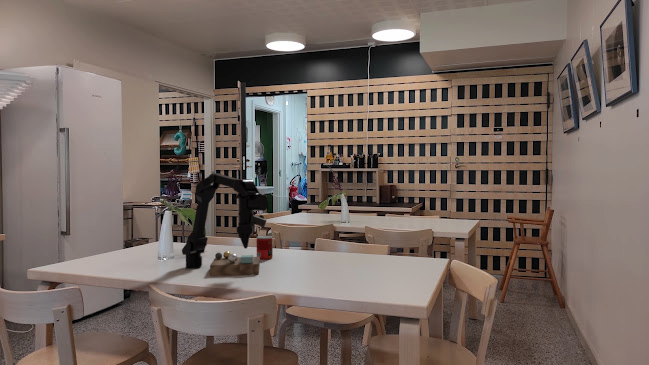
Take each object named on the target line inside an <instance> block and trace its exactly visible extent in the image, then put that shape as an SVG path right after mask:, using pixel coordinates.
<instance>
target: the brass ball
mask: <svg viewBox="0 0 649 365" xmlns="http://www.w3.org/2000/svg"><path fill="white" fill-rule="evenodd" d="M230 254H231V252H230V251H228V250H227V251H224V253H223V254H222V257H223V258H226V259H228V256H229V255H230Z"/></svg>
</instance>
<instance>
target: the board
mask: <svg viewBox="0 0 649 365" xmlns="http://www.w3.org/2000/svg"><path fill="white" fill-rule="evenodd" d="M237 258H238V259H237V261H236V262H235V263H230V262H229V261H228V259H226V258H224V257H222V258H221V259H216V257H215V258H213V260H212V262H211V263H210V266H209V276H210V277H215V276H216V277H220V276H221V277H222V276H250V275H249V274H260V267H261V266H260V265H261V263H260V262H261V260H260V257H257V256H253V263H241V256H239V257H238V256H237Z"/></svg>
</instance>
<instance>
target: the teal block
mask: <svg viewBox="0 0 649 365" xmlns="http://www.w3.org/2000/svg"><path fill="white" fill-rule="evenodd" d="M240 257H241V263H253V257H254V255H253V254H247V255H246V254H245V255H243V254H241V255H240Z"/></svg>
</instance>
